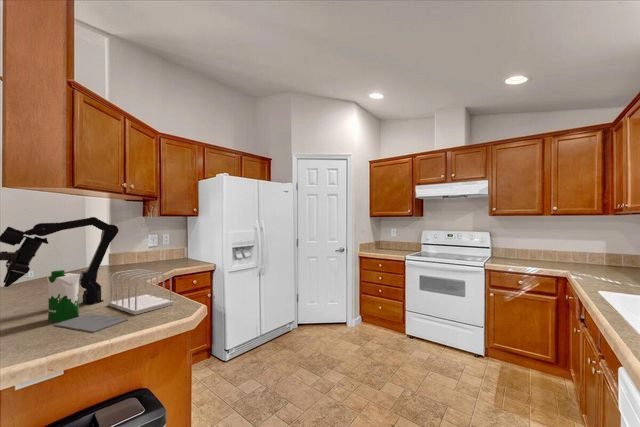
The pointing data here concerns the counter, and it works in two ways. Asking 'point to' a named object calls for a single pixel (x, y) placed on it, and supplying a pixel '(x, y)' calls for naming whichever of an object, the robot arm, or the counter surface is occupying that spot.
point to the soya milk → (63, 296)
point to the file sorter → (143, 301)
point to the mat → (91, 322)
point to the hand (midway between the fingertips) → (5, 284)
